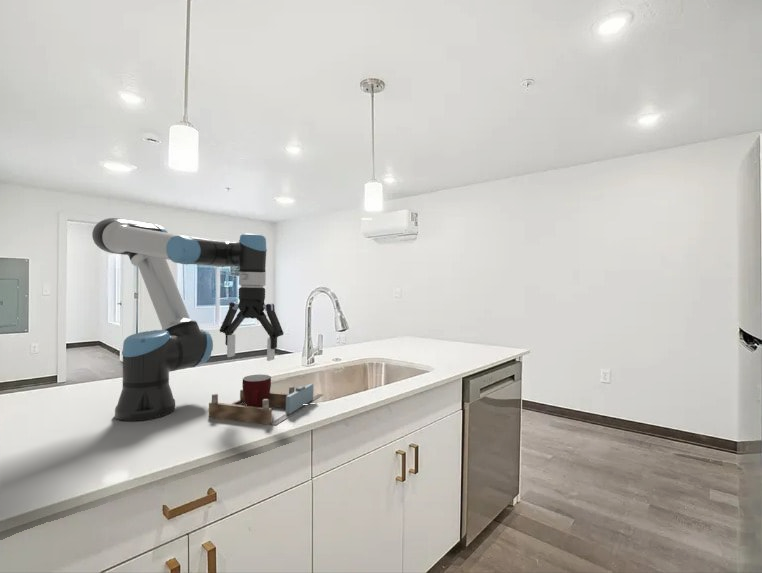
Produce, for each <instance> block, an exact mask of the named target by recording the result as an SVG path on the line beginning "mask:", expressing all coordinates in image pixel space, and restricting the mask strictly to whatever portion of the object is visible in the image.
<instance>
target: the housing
mask: <svg viewBox="0 0 762 573" xmlns="http://www.w3.org/2000/svg"><path fill="white" fill-rule="evenodd" d="M293 392H295V386H291V385H290V386H288V393H283V392H272V391H270V394H269V399H264V400H263V408H262V407H253V406H246V405H242V404H245V399H244V394H243V388H242V389H240V391H239V400H237V401H234V402H232V403H226V402H225V403H224V402H223V403H222V402H219V394H218V393H212V394H211V402H208V418H212V419H220V420H222V419H223V420H228V421H237V422H243V423H253V424H262V425H270V426H274V427H275V426H277V425H279V424H280V423H282V422H284V421H285V420H287V419H288V418H289V417H292V416H293V415H294V413H295V414H296V413H297V412H299V411H301V410H303V408H306V407H307V406H308V405H303V406H302V407H300V408H298V409H297V410H295V411H294V412H292V413H290V414H286V413H285V414H283V415H282V416H279V417H278V418H276V419H275V420H273V421H272V419H273V417H272V415H273V412H272V411H273V410H272V409H273V408H270V407H274V408H285V409H286V396H288V395H290V394H291V393H293ZM323 396H324V394H320V393H318V394H315V395H313V400H311V401H310V402H308V403H306V404H309V405H310V404H312V403H313V402H315V401H317V400H318V399H320V398H321V397H323ZM305 406H306V407H305Z"/></svg>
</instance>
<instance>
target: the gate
mask: <svg viewBox="0 0 762 573" xmlns="http://www.w3.org/2000/svg"><path fill="white" fill-rule="evenodd" d="M313 397H314V383H309V384H307V385H299V386H297V387H295V390H294V392H293V393H291V394H290V395H288V396H286V408H285V414H290V413H292V412H294V411H295V410H297V409H298V408H300V407H302V406H303V404H306V403H308V402H310V401H311V400H313Z"/></svg>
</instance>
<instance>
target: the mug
mask: <svg viewBox="0 0 762 573" xmlns="http://www.w3.org/2000/svg"><path fill="white" fill-rule="evenodd" d="M241 386H242V389H243V394H244V399H245V403H244V404H245V406H253V407H262V408H263V400H264V399H269V394H270V392H271V388H272V377H271V376H270V375H269V374H252V375H246V376H244V377H243V378H242V385H241Z"/></svg>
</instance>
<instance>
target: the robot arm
mask: <svg viewBox="0 0 762 573" xmlns="http://www.w3.org/2000/svg"><path fill="white" fill-rule="evenodd" d="M91 236H92V240H93V243H94V244H95V245H96V246H97V247H98V248H99V249H100V250H102V251H104V252H106V253H110V254H115V255H123V256H125V255H126V256H128V257H129V260H130V263H131V265H133V266H134V267H136V268H137V267H138V269H139V272H140V274H141V277H142V280H143V282H144V284H145V287H146V290H147V292H148V295H149V298H150V301H151V303H152V305H153V308H154V310H155V312H156V316H157V318H158V321H159V323H160V326H161V329H159V330H158V329H155V330H154V329H153V330H150V331H149V330H147V331H141V332H137V333H134V334H131V335H128V336H127V337H125V339H124V340H123V344H122V352H121V355H122V387H121V388H122V389H121V393H120V396H119V398H118V401H117V405H116V406H115V409H114V418H115V419H116V420H119V421H123V422H125V421H126V422H137V421H138V422H139V421H144V420H145V421H146V420H152V419H157V418H160V417H163V416H166V415H169V414H171V413H173V412H175V410H176V400H175V398H174V396H173V393H172V389H171V386H170V372H175V371H180V370H183V369H188V368H195V367H196V366H201V365H203V364H205V363H206V362H207V361H208V360H209V359H210V357H211V355H212V351H214V350H213V349H214V341H213V337H212V335H211V334H210V332H209V331H207V330H204V329H200V327H199V324H198V321H196V320H194V319H191V318H190V315H189V313H188V311H187V308H186V306H185V303H184V300H183V298H182V295H181V293H180V291H179V289H178V285H177V283H176V281H175V279H174V276H173V273H172V271H171V268H170V266H169V263H168V261H167V260H170V261H171V262H172V263H175V264H179V265H180V264H181V265H200V266H201V265H203V266H213V267H217V268H219V267H220V268H225V267H227V268H228V267H238V285H239V288H238V296H237V297H238V300H239V302H237V301H234V302H233V301H232V302H230V303H229V305H228V311H227V312H226V315H225V317H224V319H223V322H222V323H221V326H220V328H219V332H220V333H223V334H224V336H225V343H224V344H225V346H226V348H227V349H226V357H227V358H231V357H235V356H236V334H235V333H234V332H236V330H237V328H238V327H239V326H240V325H241V324H242V322H243V321H244V320H245V319H256V320H257V321H259V323H260V324H261V326H262V328H263V329H264V331H265V332H266V333H267V335H268V336H269V337H267V341H266V342H267V343H266V344H267V345H266V354H267V355H266V361H269V362H270V361H273V360H275V351H276V350H275V349H277V348H278V347H277V346H278V338H279V337H281V336H283V335H284V331H283V328H282V326H281V323H280V321H279V318H278V315H277V313H276V311H275V304H274V303H267V304H266V303H265V300H266V288H265V286H266V278H267V276H266V275H267V274H266V273H267V272H266V265H267V264H266V263H267V251H268V249H267V239H266V237H265V236H264V235H262V234H256V233H241V235H240V236H239V240H238V241H223V240H215V239H208V238H201V237H195V236H190V235H183V234H182V235H181V234H176V233H170V232H168V230H167V229H165V228H164V227H163V226H161V225H159V224H156V223H152V222H143V221H136V220H132V219H131V220H130V219H125V218H117V217H109V218H106V219H105V218H104V219H102V220H100V221H99V222H97V223H96V225H94V227H93V228H92V234H91ZM238 310H239V312H238V313H237V311H238ZM264 311H265V312H266V313H265V312H264ZM267 317H268V318H267Z"/></svg>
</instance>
